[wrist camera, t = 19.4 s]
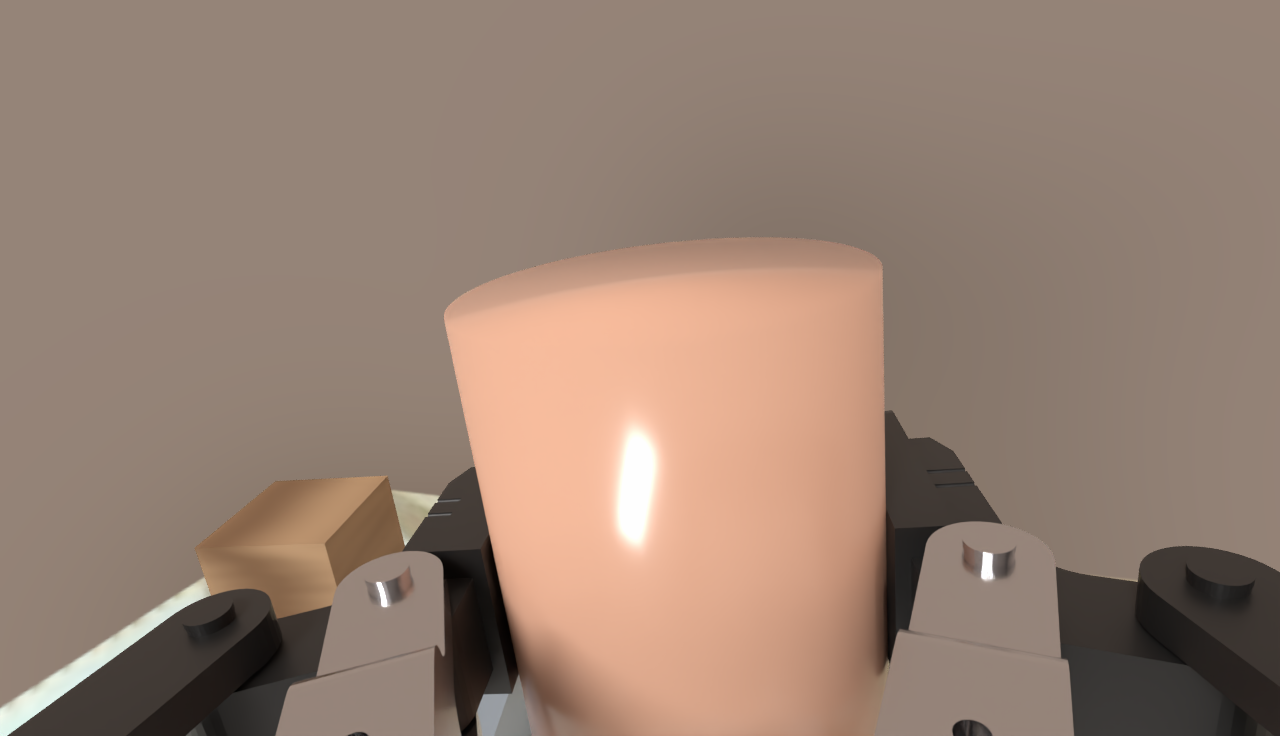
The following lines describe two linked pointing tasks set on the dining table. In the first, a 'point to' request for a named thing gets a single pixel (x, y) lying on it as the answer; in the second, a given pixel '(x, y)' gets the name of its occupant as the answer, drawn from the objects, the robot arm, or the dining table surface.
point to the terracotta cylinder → (686, 484)
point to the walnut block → (302, 540)
